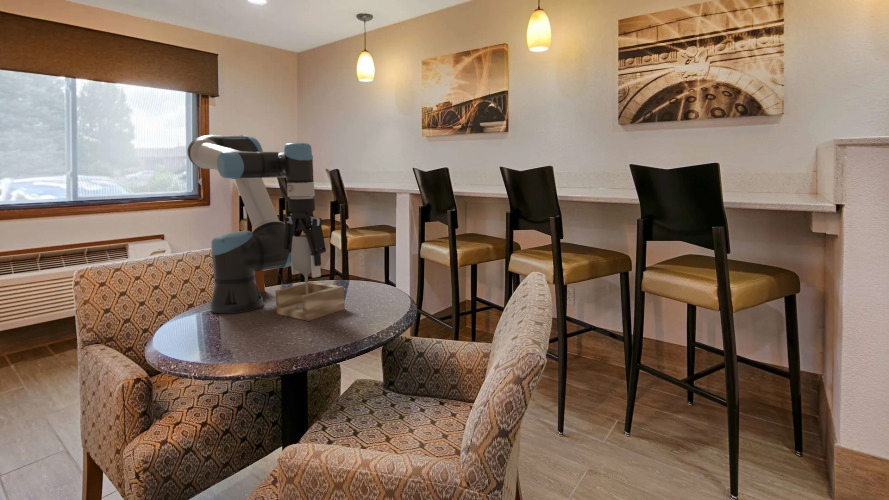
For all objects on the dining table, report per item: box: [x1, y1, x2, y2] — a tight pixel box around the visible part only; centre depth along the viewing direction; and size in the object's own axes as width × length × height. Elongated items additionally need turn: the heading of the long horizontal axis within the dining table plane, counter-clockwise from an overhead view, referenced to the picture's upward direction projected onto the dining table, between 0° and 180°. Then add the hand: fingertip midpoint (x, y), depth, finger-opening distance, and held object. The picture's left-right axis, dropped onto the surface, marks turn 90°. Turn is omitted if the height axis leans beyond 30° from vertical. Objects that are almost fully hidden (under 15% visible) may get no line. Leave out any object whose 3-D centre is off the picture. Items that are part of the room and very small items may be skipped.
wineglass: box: [291, 233, 312, 309], centre depth 147 cm, size 8×8×21 cm
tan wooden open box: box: [274, 281, 346, 322], centre depth 150 cm, size 14×14×7 cm
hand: (306, 275), depth 148 cm, fingers open, 8 cm apart
